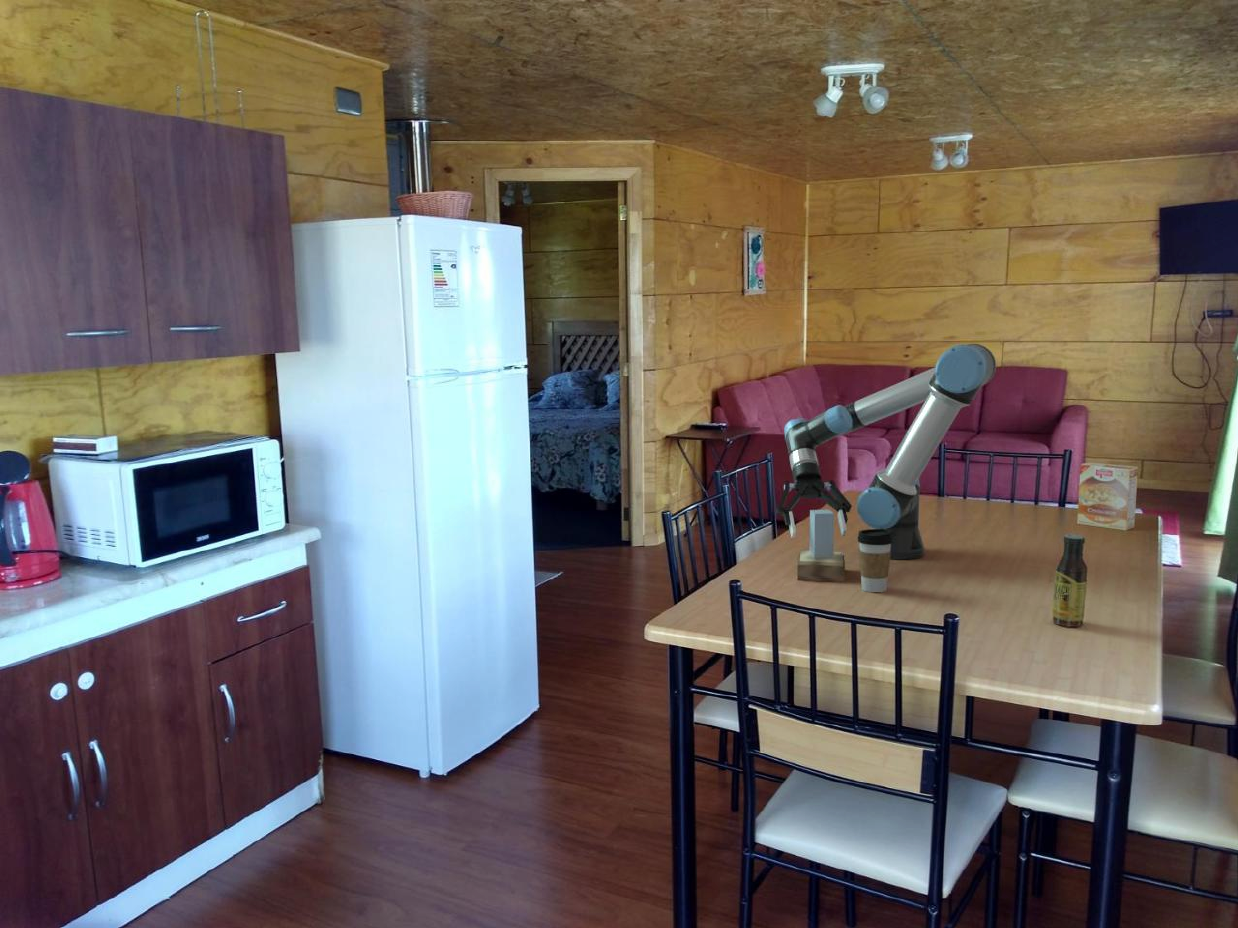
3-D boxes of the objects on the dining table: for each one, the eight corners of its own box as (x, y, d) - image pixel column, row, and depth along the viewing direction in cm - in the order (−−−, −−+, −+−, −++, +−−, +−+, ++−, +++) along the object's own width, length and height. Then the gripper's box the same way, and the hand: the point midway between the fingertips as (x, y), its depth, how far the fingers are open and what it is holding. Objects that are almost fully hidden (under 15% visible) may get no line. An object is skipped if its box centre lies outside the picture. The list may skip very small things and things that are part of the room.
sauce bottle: (1046, 620, 207) (1050, 532, 204) (1073, 618, 207) (1078, 531, 204) (1062, 629, 200) (1067, 539, 197) (1090, 628, 201) (1095, 538, 198)
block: (828, 553, 249) (828, 509, 247) (833, 558, 244) (833, 513, 242) (809, 554, 249) (810, 510, 247) (814, 558, 244) (814, 513, 242)
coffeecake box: (1076, 524, 300) (1079, 464, 297) (1085, 520, 304) (1088, 461, 301) (1126, 531, 289) (1130, 468, 286) (1134, 527, 293) (1138, 466, 290)
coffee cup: (893, 594, 228) (894, 535, 225) (857, 593, 229) (858, 534, 227) (890, 585, 236) (891, 527, 234) (855, 584, 238) (856, 526, 235)
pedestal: (843, 569, 252) (844, 551, 251) (844, 581, 240) (845, 562, 239) (798, 567, 254) (798, 550, 253) (797, 579, 243) (797, 561, 242)
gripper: (846, 475, 263) (862, 539, 250) (758, 477, 261) (770, 542, 249) (852, 459, 257) (868, 525, 244) (763, 462, 255) (774, 528, 243)
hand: (819, 534), depth 247 cm, fingers open, 13 cm apart
